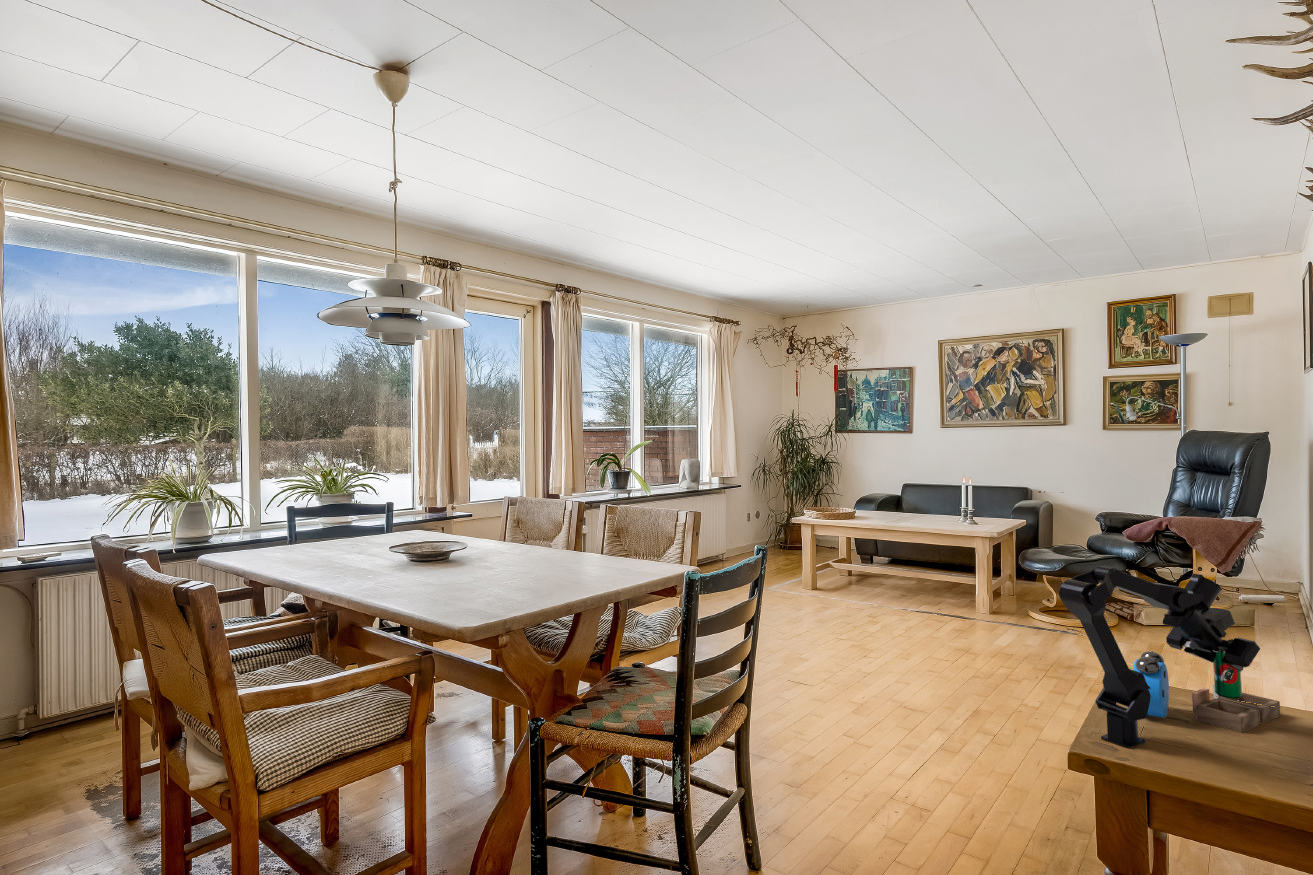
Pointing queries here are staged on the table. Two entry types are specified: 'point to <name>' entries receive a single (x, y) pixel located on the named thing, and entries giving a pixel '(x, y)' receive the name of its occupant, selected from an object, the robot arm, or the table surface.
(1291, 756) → the table surface
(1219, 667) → the soda can
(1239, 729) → the socket block
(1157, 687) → the alarm clock
